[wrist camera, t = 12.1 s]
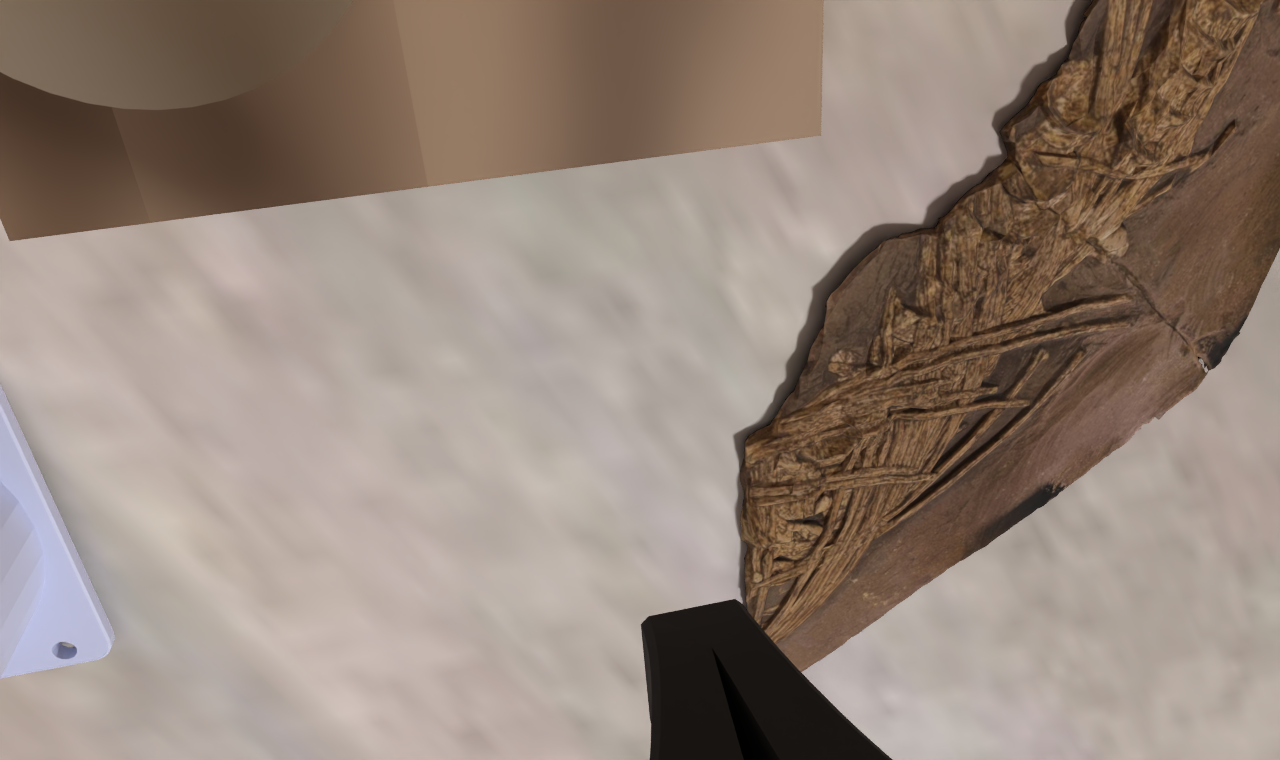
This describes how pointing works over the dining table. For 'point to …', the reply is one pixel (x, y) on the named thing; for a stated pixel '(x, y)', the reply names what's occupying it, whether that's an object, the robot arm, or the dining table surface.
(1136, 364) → the wooden fragment
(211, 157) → the board
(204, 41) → the peg
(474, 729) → the dining table surface
